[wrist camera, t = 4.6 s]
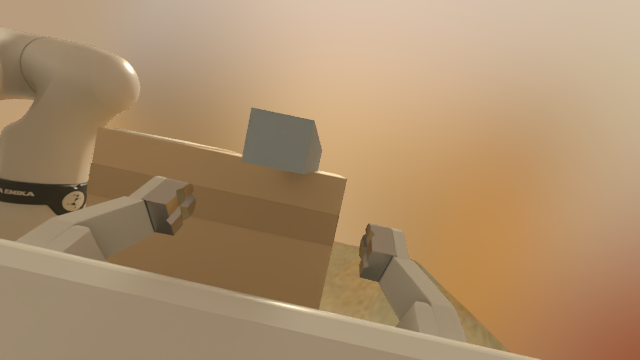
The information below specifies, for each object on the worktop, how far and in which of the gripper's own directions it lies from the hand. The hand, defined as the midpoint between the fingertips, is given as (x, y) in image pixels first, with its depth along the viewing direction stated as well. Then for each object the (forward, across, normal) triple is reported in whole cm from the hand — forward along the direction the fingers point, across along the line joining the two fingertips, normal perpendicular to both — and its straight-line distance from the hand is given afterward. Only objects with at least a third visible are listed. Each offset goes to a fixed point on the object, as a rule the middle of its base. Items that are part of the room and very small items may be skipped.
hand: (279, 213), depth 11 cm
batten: (+12, -1, -5) cm, 13 cm away
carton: (+3, -8, -30) cm, 31 cm away
